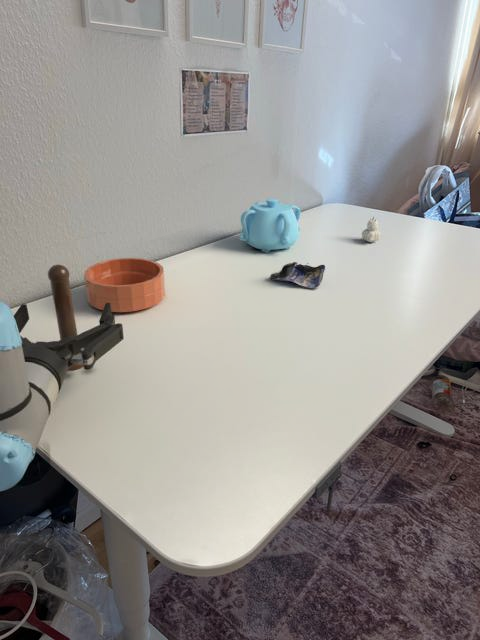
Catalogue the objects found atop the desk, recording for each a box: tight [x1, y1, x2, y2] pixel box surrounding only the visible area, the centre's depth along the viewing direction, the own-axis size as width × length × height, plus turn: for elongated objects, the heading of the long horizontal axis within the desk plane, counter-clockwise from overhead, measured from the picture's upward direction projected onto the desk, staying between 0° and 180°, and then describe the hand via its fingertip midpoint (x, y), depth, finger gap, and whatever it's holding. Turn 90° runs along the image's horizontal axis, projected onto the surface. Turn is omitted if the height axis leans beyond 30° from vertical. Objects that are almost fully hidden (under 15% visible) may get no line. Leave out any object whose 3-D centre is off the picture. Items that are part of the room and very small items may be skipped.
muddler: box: [47, 264, 84, 372], centre depth 79 cm, size 6×6×18 cm
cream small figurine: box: [361, 215, 381, 243], centre depth 143 cm, size 5×7×8 cm
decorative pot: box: [238, 198, 301, 253], centre depth 137 cm, size 16×16×14 cm
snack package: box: [270, 261, 326, 290], centre depth 116 cm, size 12×6×12 cm
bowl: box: [83, 257, 166, 313], centre depth 104 cm, size 17×17×6 cm
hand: (67, 310), depth 80 cm, fingers open, 13 cm apart
